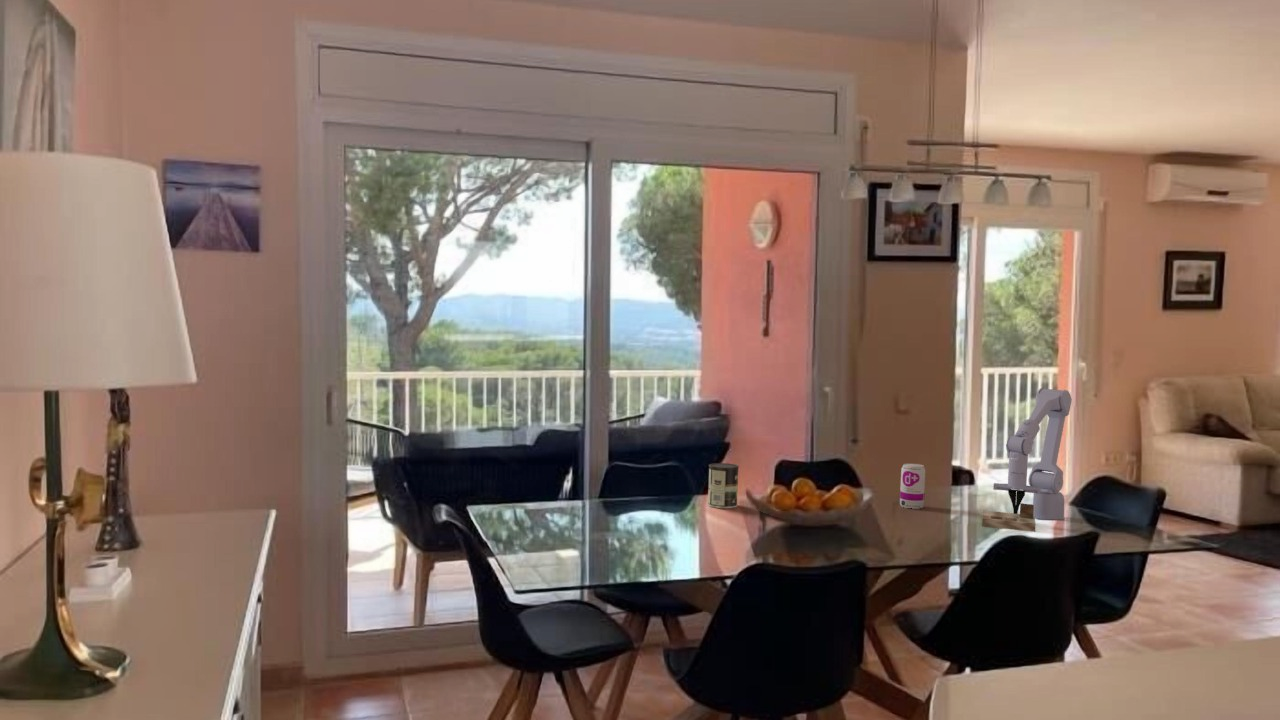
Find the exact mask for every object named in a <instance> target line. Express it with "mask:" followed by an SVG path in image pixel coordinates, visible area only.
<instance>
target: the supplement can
mask: <svg viewBox="0 0 1280 720" xmlns="http://www.w3.org/2000/svg"><path fill="white" fill-rule="evenodd" d="M926 473H927V472H926V467H925V465H924V464H921V463H903V465H902V467H901V471H900V486H899V487H900V488H899V489H900V491H899V505H900V507H901V508H903V507H904V508H903V509H907V508H912V509H911V510H920V509H919V508H921V509H923V508H924V507H925V494H926V492H925V489H926V488H925V487H926Z"/></svg>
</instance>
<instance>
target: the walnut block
mask: <svg viewBox="0 0 1280 720" xmlns="http://www.w3.org/2000/svg"><path fill="white" fill-rule="evenodd" d="M1033 511H1034V505H1033V503H1032V504H1030V503H1022V502H1021V503H1020V506H1019V514H1020V518H1029V519H1033Z"/></svg>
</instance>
